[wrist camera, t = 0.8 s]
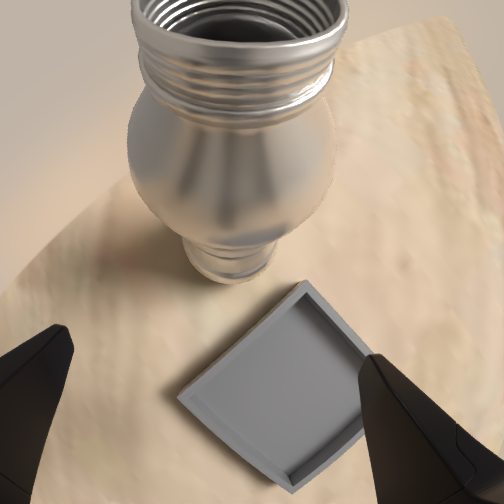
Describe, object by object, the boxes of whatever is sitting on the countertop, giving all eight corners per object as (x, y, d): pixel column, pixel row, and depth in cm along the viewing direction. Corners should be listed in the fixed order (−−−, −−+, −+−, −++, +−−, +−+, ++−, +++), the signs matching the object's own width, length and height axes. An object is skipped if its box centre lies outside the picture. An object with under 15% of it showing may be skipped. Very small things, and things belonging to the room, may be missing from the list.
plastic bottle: (207, 300, 22) (64, 261, 2) (174, 218, 23) (53, -18, 3) (286, 266, 23) (496, 111, 3) (251, 187, 24) (306, -69, 4)
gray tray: (287, 480, 20) (292, 494, 18) (181, 388, 21) (176, 397, 19) (392, 384, 22) (406, 390, 20) (299, 281, 23) (306, 279, 21)
